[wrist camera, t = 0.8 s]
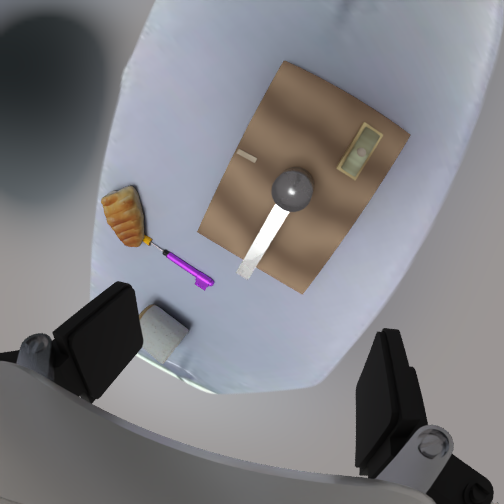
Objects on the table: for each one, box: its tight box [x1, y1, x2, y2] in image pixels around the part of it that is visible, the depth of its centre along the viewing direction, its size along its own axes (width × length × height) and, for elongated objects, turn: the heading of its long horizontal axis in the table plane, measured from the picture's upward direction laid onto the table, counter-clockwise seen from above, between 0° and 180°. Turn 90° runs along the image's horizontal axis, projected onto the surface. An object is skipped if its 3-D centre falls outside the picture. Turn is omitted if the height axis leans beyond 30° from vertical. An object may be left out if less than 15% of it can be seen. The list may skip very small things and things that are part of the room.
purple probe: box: [143, 234, 214, 290], centre depth 43 cm, size 3×1×16 cm
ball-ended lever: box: [236, 167, 314, 280], centre depth 32 cm, size 14×4×4 cm, turn 152°
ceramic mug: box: [139, 305, 189, 364], centre depth 46 cm, size 11×8×8 cm
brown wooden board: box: [197, 61, 410, 294], centre depth 32 cm, size 24×16×5 cm, turn 152°
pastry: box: [101, 186, 144, 247], centre depth 40 cm, size 9×7×4 cm
